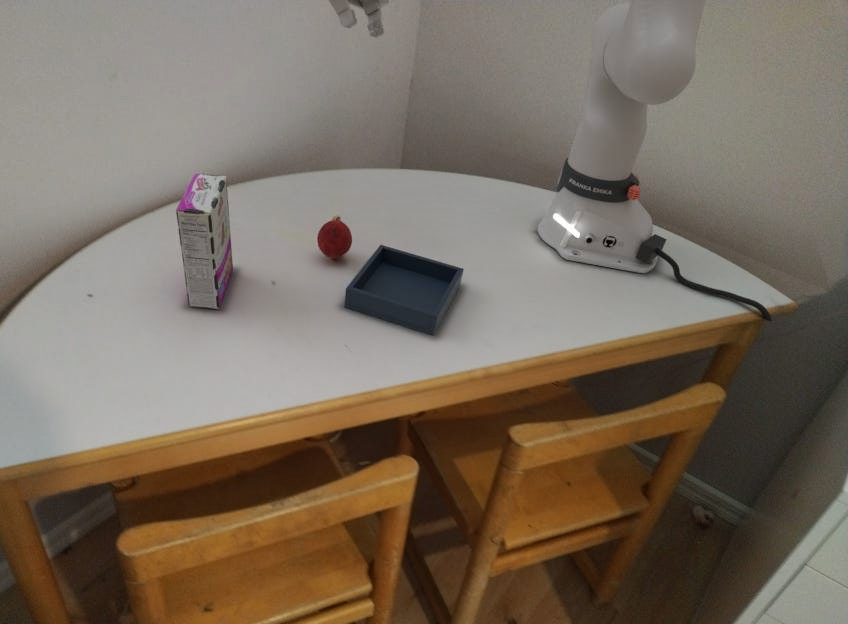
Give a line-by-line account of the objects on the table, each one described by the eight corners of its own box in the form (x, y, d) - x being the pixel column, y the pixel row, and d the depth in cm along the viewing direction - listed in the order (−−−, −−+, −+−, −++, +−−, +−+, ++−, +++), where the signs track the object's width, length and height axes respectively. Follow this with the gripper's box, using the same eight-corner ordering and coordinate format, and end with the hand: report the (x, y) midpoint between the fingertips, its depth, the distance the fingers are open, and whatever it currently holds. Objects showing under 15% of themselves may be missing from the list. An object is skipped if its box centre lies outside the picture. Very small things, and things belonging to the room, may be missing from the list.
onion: (345, 270, 106) (349, 228, 101) (312, 264, 107) (314, 221, 102) (353, 253, 111) (357, 211, 106) (321, 247, 111) (323, 205, 106)
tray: (459, 286, 106) (463, 268, 104) (433, 335, 96) (437, 316, 93) (378, 262, 109) (380, 244, 107) (344, 307, 99) (345, 288, 96)
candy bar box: (202, 267, 103) (193, 171, 93) (233, 270, 104) (228, 175, 93) (186, 308, 95) (174, 208, 84) (219, 311, 95) (212, 212, 84)
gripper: (313, -111, 77) (351, 7, 79) (380, -65, 94) (409, 31, 97) (272, -83, 80) (310, 30, 82) (344, -43, 97) (374, 49, 100)
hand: (364, 31), depth 89 cm, fingers open, 8 cm apart
